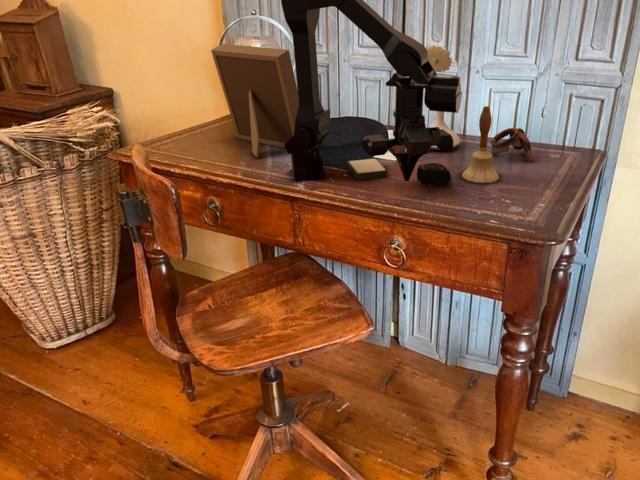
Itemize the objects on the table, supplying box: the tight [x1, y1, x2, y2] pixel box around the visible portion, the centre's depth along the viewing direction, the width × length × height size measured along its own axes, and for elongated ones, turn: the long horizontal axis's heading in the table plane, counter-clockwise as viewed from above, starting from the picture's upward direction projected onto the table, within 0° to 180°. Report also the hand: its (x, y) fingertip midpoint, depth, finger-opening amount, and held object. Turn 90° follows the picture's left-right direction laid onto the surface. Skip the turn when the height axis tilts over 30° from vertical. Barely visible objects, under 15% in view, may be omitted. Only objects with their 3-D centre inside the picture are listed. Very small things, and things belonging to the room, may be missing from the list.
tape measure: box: [416, 162, 452, 187], centre depth 127 cm, size 7×7×4 cm
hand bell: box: [461, 105, 500, 184], centre depth 127 cm, size 8×8×16 cm
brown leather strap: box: [490, 127, 533, 162], centre depth 142 cm, size 12×10×8 cm
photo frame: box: [210, 43, 299, 158], centre depth 146 cm, size 15×22×25 cm
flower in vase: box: [425, 44, 461, 151], centre depth 145 cm, size 13×11×25 cm
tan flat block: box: [346, 158, 387, 181], centre depth 134 cm, size 7×9×2 cm
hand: (406, 180), depth 125 cm, fingers closed
